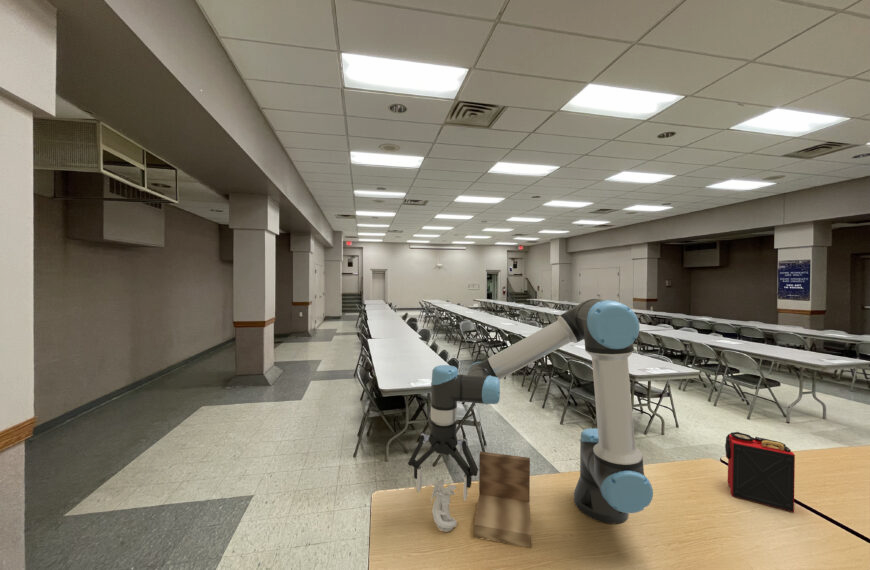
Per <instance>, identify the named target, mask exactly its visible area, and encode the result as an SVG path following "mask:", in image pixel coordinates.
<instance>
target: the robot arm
mask: <svg viewBox="0 0 870 570" xmlns="http://www.w3.org/2000/svg"><path fill="white" fill-rule="evenodd" d="M640 328H641V327H640V321H639V319H638V317H637V314H636V313H635V312H634V310H632V309H631V308H630V307H629V306H627V305H625V304H624V303H622V302H619V301H615V300H610V299H601V298H591V299H587V300H585V301H581V303H579V304H577V305H575V306H574V307H572V308H570V309H568V310H567V311H565V312H564V313H561V314H560V315H558V316H557V320H556V321H554V322H552V323H550V324H548V325H546V326H545V327H542V328H541V329H539V330H537V331H536V332H533V333H532V334H530V335H528V336H527V337H525V338H522V339H520V340H519V341H517V342H515V343H514V344H512V345H510V346H508V347H507V348H504V349H503V350H500V351H499V352H497V353H496V354H493V355H491V356H489V357H488V358H486V359H483V360H482V361H476V362H474V363H472V364H471V365H470V367H469V368H468V371H467V374H460V373H459V370H458V368H457V366H454V365H448V364H442V365H441V364H440V365H437V366H435V367H433V369H432V370H431V372H432V373H431V383H430V386H431V388H430V389H431V391H430V392H431V394H430V395H431V397H430V399H431V400H430V429H429V430H430V433H429V434H426V432H422V433H421V434H420V435H419V438H418V443H417V446H416V448H415V449H414V451H413V452H412V454H411V457H410V458H409V460H408V462H407V465H408V466H411V467H413V478H414V479H415V480H416V492H417V493H420V492H421V490H422V488H423V463H424V462H425V461H426V460H427V459H428V458H429V457H430V455H432V454H433V453H434V452H436V454H441V455H442V454H443V455H450V457H451V458H453V460H454V461H455V462H456V463H457V465H458V466H459V468H460V469H461V470H462V472H463V473H464V475H463V493H462V495H463V497H462V500H463V501H466V502H467V498H468V489H470V488H471V487H472V477H473V476H474V477H476V476H478V472H479V468H478V466H477V464H476V461H475V459H474V457H473V456H474V455H472V452H471V450H470V447H469V444H468V439H467V437H463V439H458V436H457V419H458V418H457V417H458V414H457V413H458V402H459V403H462V402H463V403H470V404H471V403H473V404H484V405H496V404H499V402H500V400H501V399H500V397H501V382H500V380H502V379H504V378H505V377H507V376H509V375H511V374H513V373H515V372H516V371H518V370H521V369H522V368H524V367H526V366H528V365H530V364H532V363H533V362H535V361H538V360H540V359H541V358H543V357H545V356H547V355H549V354H551V353H553V352H555V351H556V350H559V349H561V348H562V347H564V346H567V345H568V344H570V343H574V344H577V343H579V342H581V341H584V350H585V352H586V353H587V354H588V355H589V356H590V357H591V361H592V374H593V377H592V378H593V387H594V397H595V398H594V400H595V414H596V424H597V426H596V427H597V428H595V427H594V428H592V427H591V428H585V429H583V430H582V431H581V432H580V439H579V443H580V445H579V447H580V449H579V450H580V454H579V455H580V456H579V461H580V462H579V465H580V466H579V471H580V472H579V473H580V474H579V478H578V481H577V483H576V484H575V485H576V486H575V488H574V491H573V502H574V505H575V507H576V508H577V509H578V510H579V511H580V512H581V513H583V514H584V515H585V516H586V517H589V518H590V519H593V520H595V521H598V522H601V523H606V524H621V523H624V522H625V521H627V520H628V518H629V514H636V513H639V512H642V511H644V510H645V509H646V508H647V507H649V505H650V504H651V503H652V500H653V497H654V490H653V489H654V488H653V485H652V484H651V482H650V480H649V479H648V478H647V476H645V470H644V460H643V457H644V456H643V453H642V452H641V451H640V450H639V449H638V448H637V447H636V443H635V431H634V419H633V417H634V416H633V405H632V404H633V403H632V395H631V381H630V370H629V357H630V356H631V355H632V354H633V353H634V352H635V349H634V342H635V340H637V339H638V336H639V333H640ZM427 441H428V443H429V444H430V446H429V448H427V450H426V451H425V452H423V454H422V455H421V456H419V458H418V459H417V460H416V458H417V456H418V454H419V453H420V450H421V448H422V447H423V445H424V444H425V443H426V442H427ZM457 445H458V446H459V448H461V449H462V453H463V455H464V457H465V458H464V457H463V456H462V454H461V453H460V452H459V450H458V447H457Z"/></svg>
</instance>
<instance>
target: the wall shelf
mask: <svg viewBox="0 0 870 570" xmlns="http://www.w3.org/2000/svg"><path fill="white" fill-rule="evenodd" d="M478 464H479V466H478V467H479V468H478V472H479V476H478V477H479V478H478V479H479V483H478V485H479V486H478V489H479V490H478V500H477V505H476V512H475V518H474V523H473V538H475V537H476V539H480V538H483V539H482V540H486V539H489V540H488V541H491V540H493V541H492V542H496V541H497V542H498V543H501V542H502V543H503V544H508V545H512V544H513V545H512V546H517V545H518V547H522V548H528V549H532V545H533V544H532V541H533V538H532V535H533V534H532V533H533V532H532V517H531V504H530V501H531V500H530V491H531V489H530V488H531V487H530V485H531V484H530V483H531V482H530V481H531V480H530V478H531V477H530V476H531V475H530V474H531V458H530V457H525V456H520V455H519V456H518V455H512V454H511V455H510V454H509V455H508V454H505V453H504V454H503V453H494V452H487V451H479V463H478ZM502 543H501V544H502Z"/></svg>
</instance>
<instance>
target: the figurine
mask: <svg viewBox="0 0 870 570" xmlns="http://www.w3.org/2000/svg"><path fill="white" fill-rule="evenodd" d="M440 477H441V476H440V475H438V480H437V481H436V480H435V482H434V484H433V488H432V493H431V498H430V503H429V505H431V504H432V500H433V499H434V501H433V504H432V509H431V510H432V511H431V512H432V519H433V521H434V523H435V524H436V527H438V528H439V529H440V530H442V531H441V532H443V531H444V533H445V532H446V533H447V532H450V531H452V530H453V529H454V528H455V527H457V524H458V520H456V518H454V517H452V516H451V512H450V504H451V502H452V501H451V496H455V495H456V493H455V490H457V485H456V484H449V485H448V486H446V487H444V485H445V478H446V477H445V474H443V476H442V478H440ZM453 527H454V528H453ZM438 528H437V529H438ZM439 529H438V530H439ZM440 530H439V531H440Z"/></svg>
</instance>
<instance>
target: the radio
mask: <svg viewBox="0 0 870 570" xmlns="http://www.w3.org/2000/svg"><path fill="white" fill-rule="evenodd" d="M724 449H725V457H726V458H727V484H728V487H729V489H730V494H731V496H732V497H735V498H738V499H742V500H746V501H749V502H754V503H757V504H761V505H765V506H769V507H774V508H776V509H780V510H784V511H788V512H791V513H795V472H796V471H795V468H796V465H795V463H796V459H795V458H796V455H795V453H794V452H793V451H792V449H790V448H789V447H788V446H787V445H786V444H785V443H783V442H781V441H777V440H771V439H768V438H764V437H758V436H755V437H754V436H751V435H749V434H747V433H742V432H739V431H735V432H733V431H731V432H730V433H728V434H727V435H726V437H725V444H724Z"/></svg>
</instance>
